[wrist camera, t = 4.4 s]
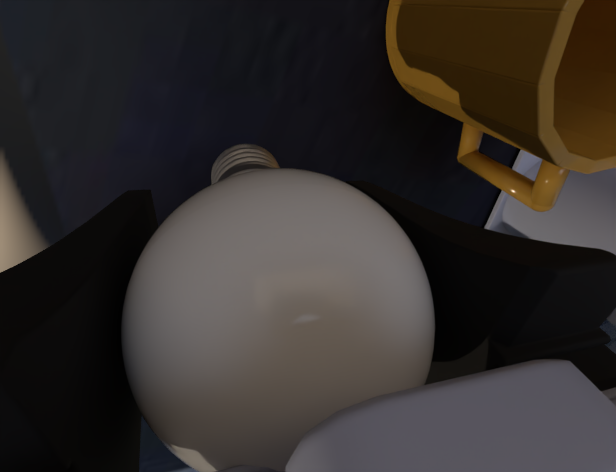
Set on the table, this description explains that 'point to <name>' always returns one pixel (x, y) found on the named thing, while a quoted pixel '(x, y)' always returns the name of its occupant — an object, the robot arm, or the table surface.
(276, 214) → the lightbulb
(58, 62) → the table surface
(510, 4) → the mug
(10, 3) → the table surface
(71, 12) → the table surface
